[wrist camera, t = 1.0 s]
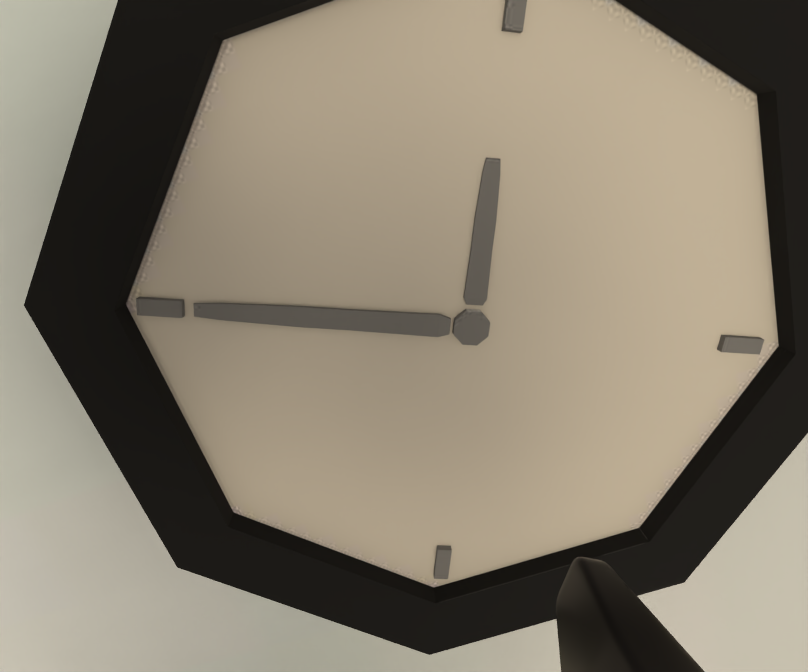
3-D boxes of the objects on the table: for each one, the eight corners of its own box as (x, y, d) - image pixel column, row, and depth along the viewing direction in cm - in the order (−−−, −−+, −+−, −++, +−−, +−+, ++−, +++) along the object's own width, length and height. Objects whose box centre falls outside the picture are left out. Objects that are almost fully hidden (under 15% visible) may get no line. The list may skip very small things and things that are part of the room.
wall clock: (751, 660, 25) (75, 648, 23) (713, 608, 28) (109, 593, 25) (1061, -136, 15) (-67, -295, 13) (954, -92, 18) (12, -215, 16)
